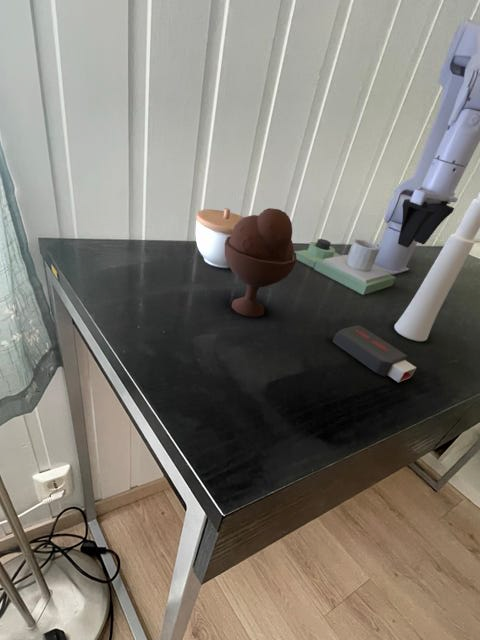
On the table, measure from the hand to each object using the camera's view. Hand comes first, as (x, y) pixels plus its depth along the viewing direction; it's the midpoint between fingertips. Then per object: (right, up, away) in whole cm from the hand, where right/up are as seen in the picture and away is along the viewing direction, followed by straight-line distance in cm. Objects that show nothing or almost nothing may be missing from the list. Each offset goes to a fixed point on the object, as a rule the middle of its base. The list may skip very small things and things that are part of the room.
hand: (411, 244), depth 75 cm
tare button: (-15, +4, +11) cm, 20 cm away
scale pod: (-16, +3, +13) cm, 21 cm away
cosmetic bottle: (-3, -19, -7) cm, 21 cm away
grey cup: (-8, -1, +7) cm, 11 cm away
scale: (-9, -3, +9) cm, 13 cm away
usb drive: (-14, -26, -17) cm, 34 cm away
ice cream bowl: (-33, -17, -13) cm, 39 cm away
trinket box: (-38, -4, 0) cm, 38 cm away
